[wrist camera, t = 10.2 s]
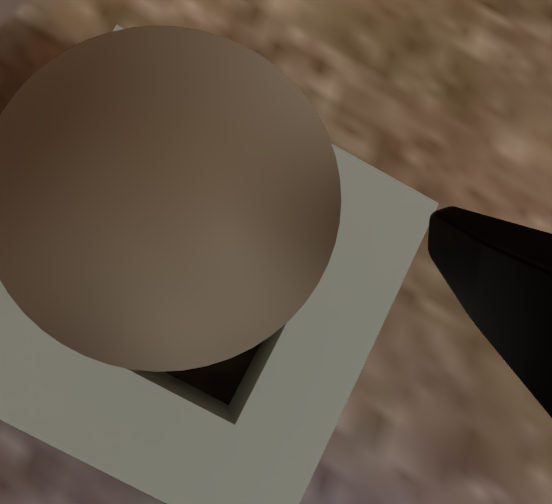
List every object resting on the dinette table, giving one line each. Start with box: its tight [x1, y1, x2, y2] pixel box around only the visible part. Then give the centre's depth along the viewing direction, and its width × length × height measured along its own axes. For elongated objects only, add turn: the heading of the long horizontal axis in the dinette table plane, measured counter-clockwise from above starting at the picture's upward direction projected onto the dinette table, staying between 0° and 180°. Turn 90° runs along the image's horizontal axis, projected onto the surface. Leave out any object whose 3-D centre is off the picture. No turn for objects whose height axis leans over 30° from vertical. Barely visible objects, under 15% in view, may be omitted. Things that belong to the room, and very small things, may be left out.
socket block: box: [0, 25, 439, 504], centre depth 17 cm, size 12×12×4 cm
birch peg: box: [0, 26, 341, 372], centre depth 13 cm, size 4×4×14 cm
